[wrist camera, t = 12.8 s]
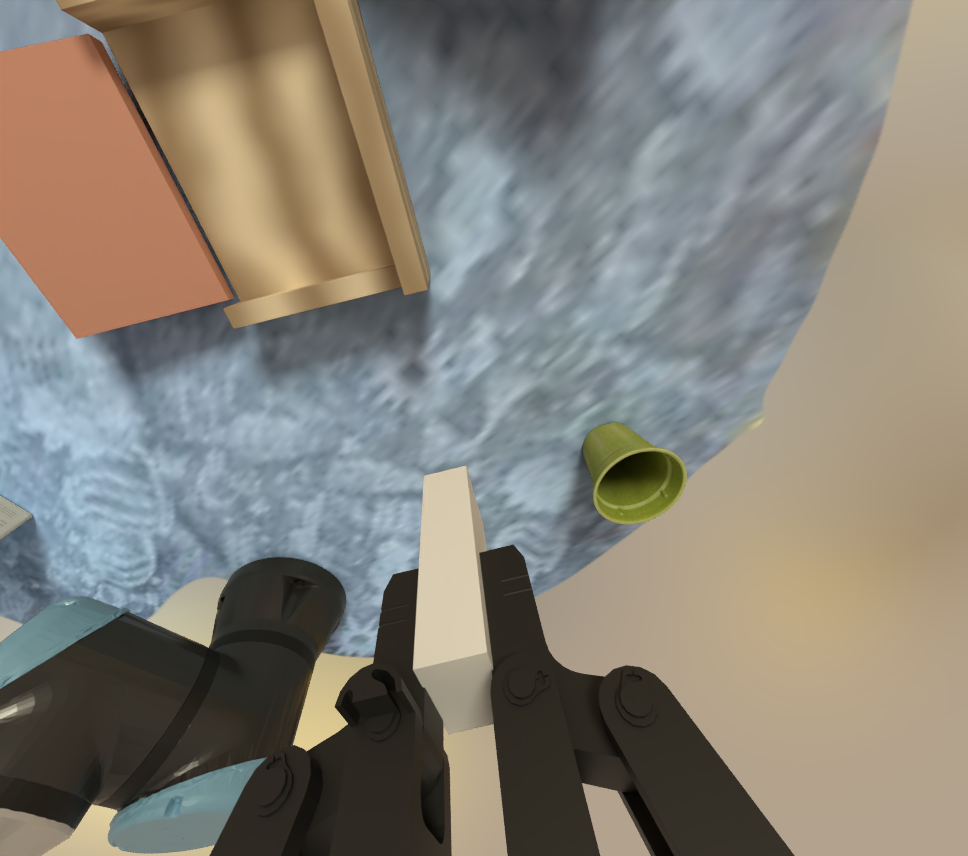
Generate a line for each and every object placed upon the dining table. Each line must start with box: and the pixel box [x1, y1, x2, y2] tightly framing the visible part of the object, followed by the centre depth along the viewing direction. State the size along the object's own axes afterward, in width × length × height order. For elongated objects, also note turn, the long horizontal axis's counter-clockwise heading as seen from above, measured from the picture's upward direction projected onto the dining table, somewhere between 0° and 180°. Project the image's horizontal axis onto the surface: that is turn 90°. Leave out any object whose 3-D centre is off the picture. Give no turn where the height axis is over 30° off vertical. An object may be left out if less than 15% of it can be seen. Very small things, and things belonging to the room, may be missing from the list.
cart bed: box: [56, 0, 430, 329], centre depth 25 cm, size 16×20×10 cm
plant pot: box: [583, 422, 687, 524], centre depth 42 cm, size 9×9×9 cm
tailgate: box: [0, 34, 234, 339], centre depth 28 cm, size 2×16×12 cm
